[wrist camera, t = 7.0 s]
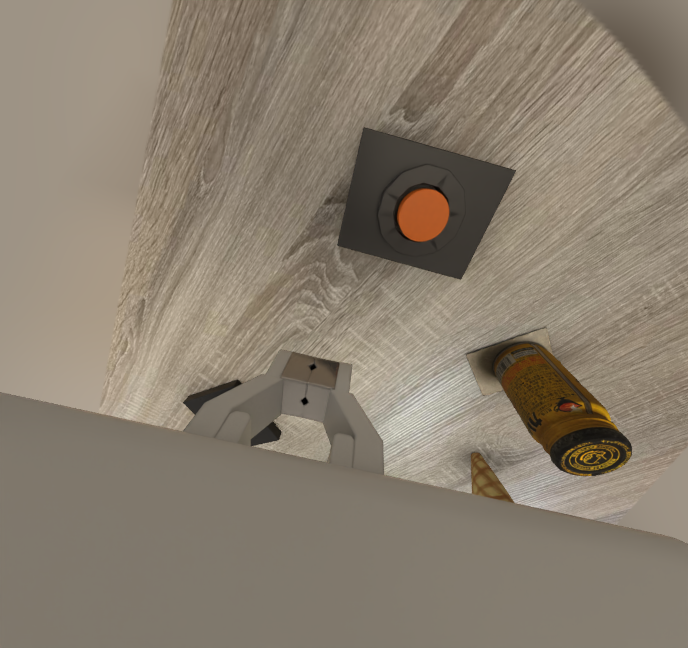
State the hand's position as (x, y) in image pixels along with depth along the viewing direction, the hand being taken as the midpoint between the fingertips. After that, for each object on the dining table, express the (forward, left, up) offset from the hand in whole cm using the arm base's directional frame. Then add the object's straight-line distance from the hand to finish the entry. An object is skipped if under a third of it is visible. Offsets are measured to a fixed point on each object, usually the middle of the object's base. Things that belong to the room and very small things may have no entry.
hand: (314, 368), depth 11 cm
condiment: (+21, -7, -18) cm, 29 cm away
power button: (+4, +6, -14) cm, 16 cm away
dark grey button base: (+4, +6, -18) cm, 19 cm away
